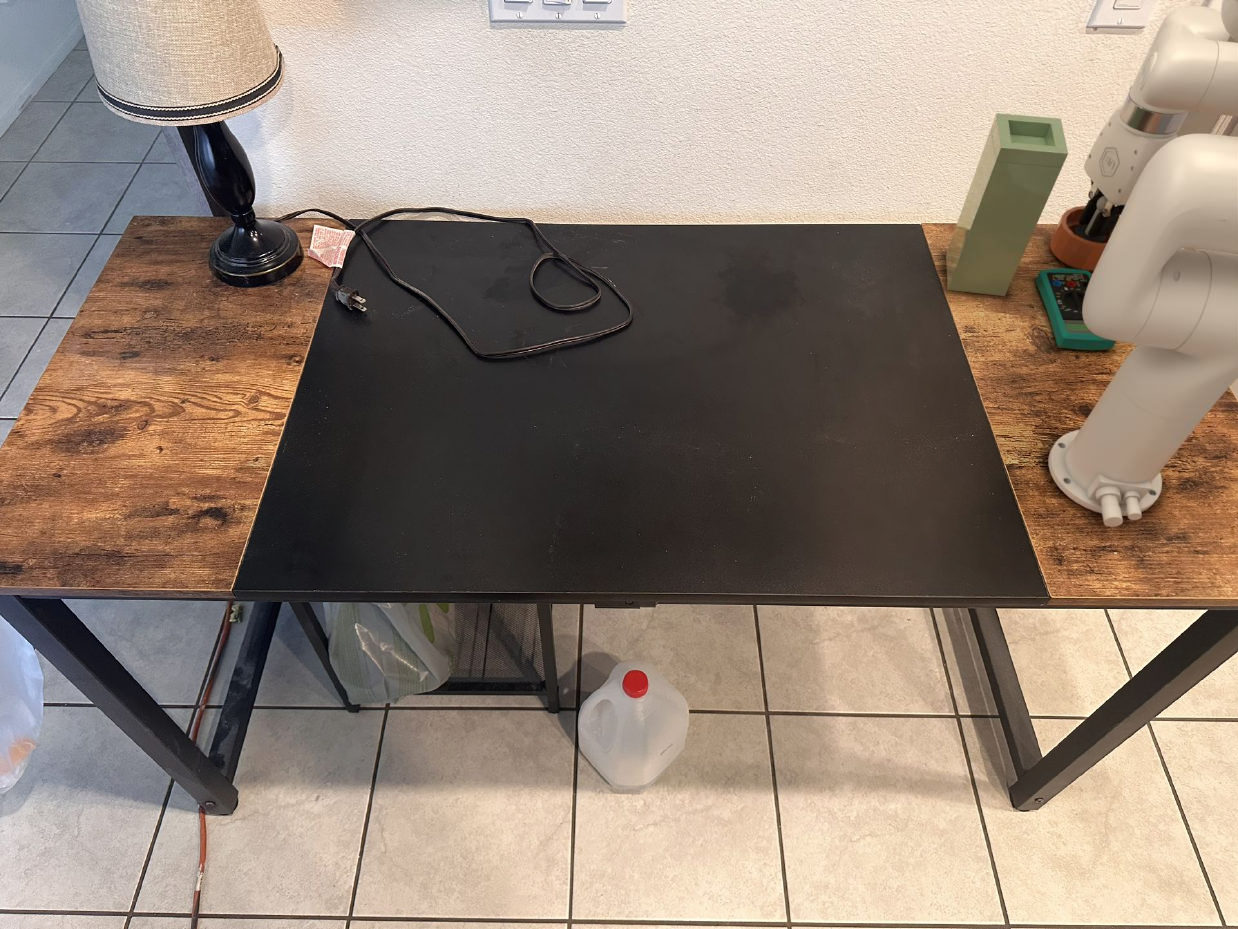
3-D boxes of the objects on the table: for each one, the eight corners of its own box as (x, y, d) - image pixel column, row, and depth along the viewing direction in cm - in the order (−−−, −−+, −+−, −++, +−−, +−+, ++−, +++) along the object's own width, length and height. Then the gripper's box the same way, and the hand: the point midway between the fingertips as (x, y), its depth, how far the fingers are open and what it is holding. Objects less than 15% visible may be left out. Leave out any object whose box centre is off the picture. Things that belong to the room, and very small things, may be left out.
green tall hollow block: (1004, 296, 123) (1068, 153, 105) (947, 290, 124) (1001, 147, 106) (1000, 261, 128) (1061, 118, 110) (945, 255, 129) (996, 112, 111)
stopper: (1102, 255, 126) (1128, 208, 120) (1071, 251, 127) (1095, 204, 120) (1098, 236, 129) (1124, 188, 122) (1067, 232, 129) (1091, 185, 123)
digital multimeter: (1083, 281, 125) (1091, 265, 123) (1112, 353, 116) (1121, 337, 114) (1032, 279, 126) (1039, 263, 123) (1056, 351, 116) (1064, 335, 114)
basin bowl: (1119, 276, 126) (1135, 249, 122) (1051, 269, 127) (1065, 242, 123) (1109, 237, 131) (1124, 209, 127) (1045, 230, 132) (1057, 202, 128)
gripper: (1095, 83, 115) (1044, 199, 130) (1159, 149, 106) (1095, 267, 120) (1147, 77, 116) (1090, 194, 131) (1215, 143, 106) (1145, 260, 121)
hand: (1093, 228), depth 125 cm, fingers closed on stopper, 2 cm apart
